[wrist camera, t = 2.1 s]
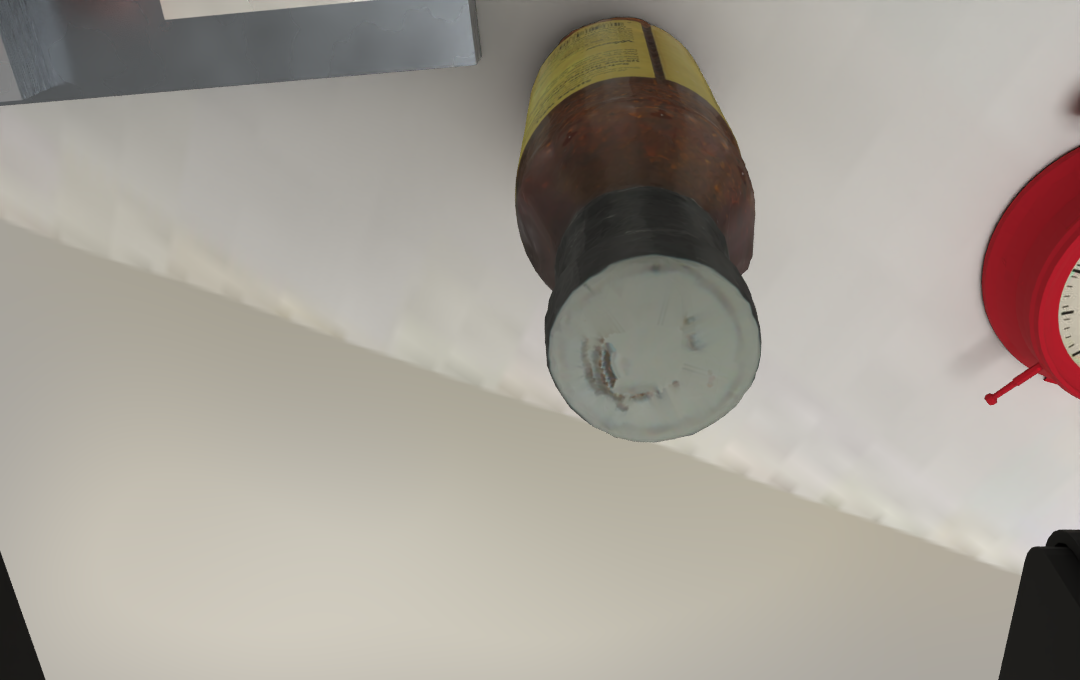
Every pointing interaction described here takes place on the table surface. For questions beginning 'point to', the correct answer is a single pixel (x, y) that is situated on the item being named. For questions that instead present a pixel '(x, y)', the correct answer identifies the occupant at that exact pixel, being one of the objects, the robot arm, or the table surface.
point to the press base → (219, 43)
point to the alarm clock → (1039, 277)
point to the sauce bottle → (638, 233)
